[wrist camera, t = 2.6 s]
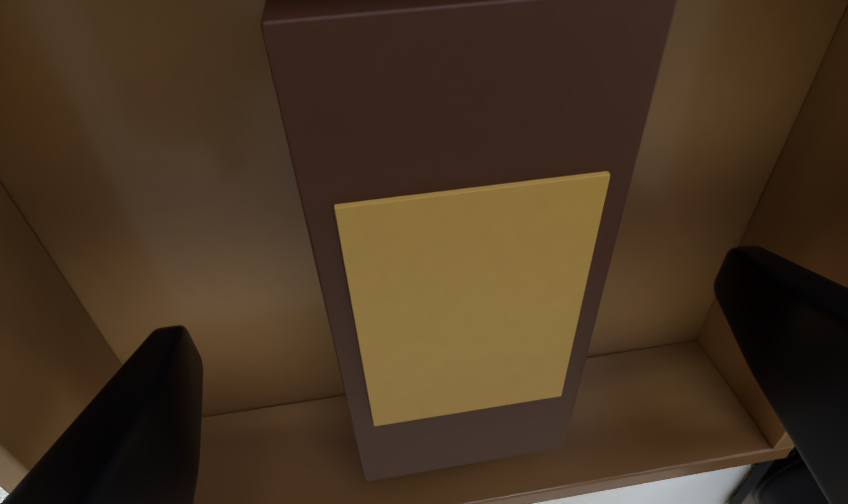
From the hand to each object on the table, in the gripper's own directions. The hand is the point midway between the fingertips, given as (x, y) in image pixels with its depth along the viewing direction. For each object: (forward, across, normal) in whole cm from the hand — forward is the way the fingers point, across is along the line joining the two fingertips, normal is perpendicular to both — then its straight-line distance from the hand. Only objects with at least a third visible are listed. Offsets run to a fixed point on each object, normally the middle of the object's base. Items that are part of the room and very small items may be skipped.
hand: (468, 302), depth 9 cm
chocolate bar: (+3, 0, 0) cm, 3 cm away
